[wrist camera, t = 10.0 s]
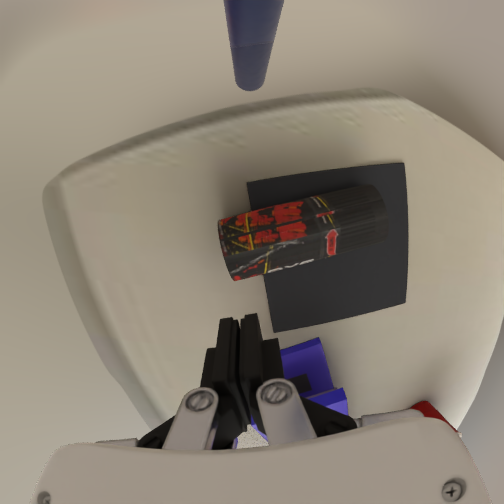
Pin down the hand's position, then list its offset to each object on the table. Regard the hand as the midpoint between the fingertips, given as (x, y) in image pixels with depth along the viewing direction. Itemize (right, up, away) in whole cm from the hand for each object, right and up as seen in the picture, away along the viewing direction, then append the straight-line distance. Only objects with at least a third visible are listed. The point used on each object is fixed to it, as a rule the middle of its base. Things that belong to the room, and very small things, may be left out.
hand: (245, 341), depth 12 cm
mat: (+10, +4, +18) cm, 21 cm away
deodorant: (-2, +4, +14) cm, 15 cm away
